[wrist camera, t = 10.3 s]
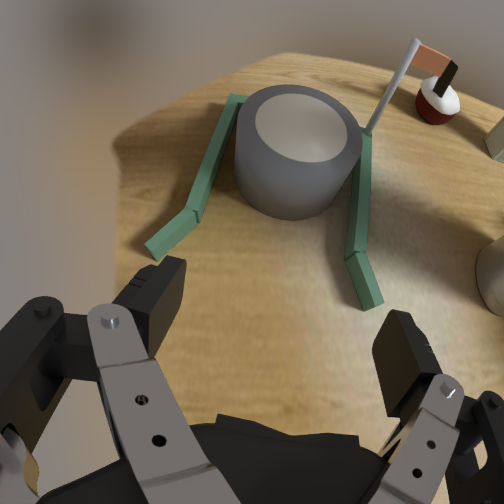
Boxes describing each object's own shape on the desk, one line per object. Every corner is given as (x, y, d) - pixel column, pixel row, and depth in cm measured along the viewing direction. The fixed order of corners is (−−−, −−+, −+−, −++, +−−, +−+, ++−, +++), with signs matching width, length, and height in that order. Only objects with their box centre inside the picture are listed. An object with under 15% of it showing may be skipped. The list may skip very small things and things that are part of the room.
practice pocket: (378, 314, 28) (499, 259, 13) (148, 259, 28) (85, 150, 13) (386, 151, 35) (449, 54, 20) (210, 104, 35) (210, -15, 20)
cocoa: (435, 102, 41) (469, 50, 30) (455, 132, 39) (496, 79, 28) (392, 98, 39) (426, 36, 28) (414, 130, 37) (456, 67, 26)
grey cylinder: (310, 126, 36) (327, 78, 28) (354, 204, 32) (385, 163, 25) (219, 145, 33) (220, 93, 26) (256, 234, 30) (266, 192, 23)
